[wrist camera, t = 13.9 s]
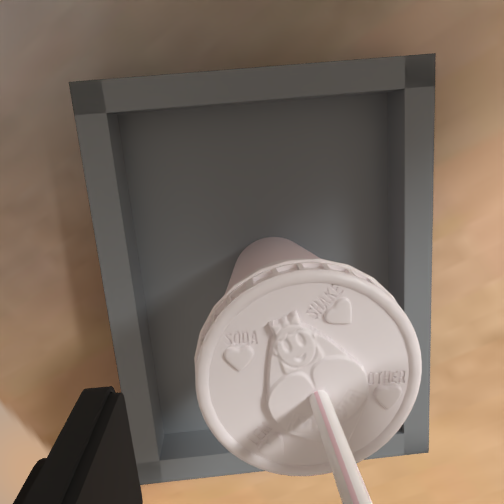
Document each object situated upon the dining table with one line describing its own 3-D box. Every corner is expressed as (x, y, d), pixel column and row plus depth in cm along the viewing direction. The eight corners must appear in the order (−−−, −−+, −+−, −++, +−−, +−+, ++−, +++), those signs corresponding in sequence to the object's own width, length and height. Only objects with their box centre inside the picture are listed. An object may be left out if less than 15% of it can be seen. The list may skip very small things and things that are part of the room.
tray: (88, 88, 20) (68, 81, 18) (407, 62, 21) (435, 53, 18) (146, 446, 25) (137, 485, 22) (406, 418, 26) (428, 452, 23)
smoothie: (239, 358, 23) (265, 677, 10) (180, 243, 22) (114, 433, 8) (359, 305, 23) (559, 557, 9) (309, 183, 21) (463, 279, 8)
